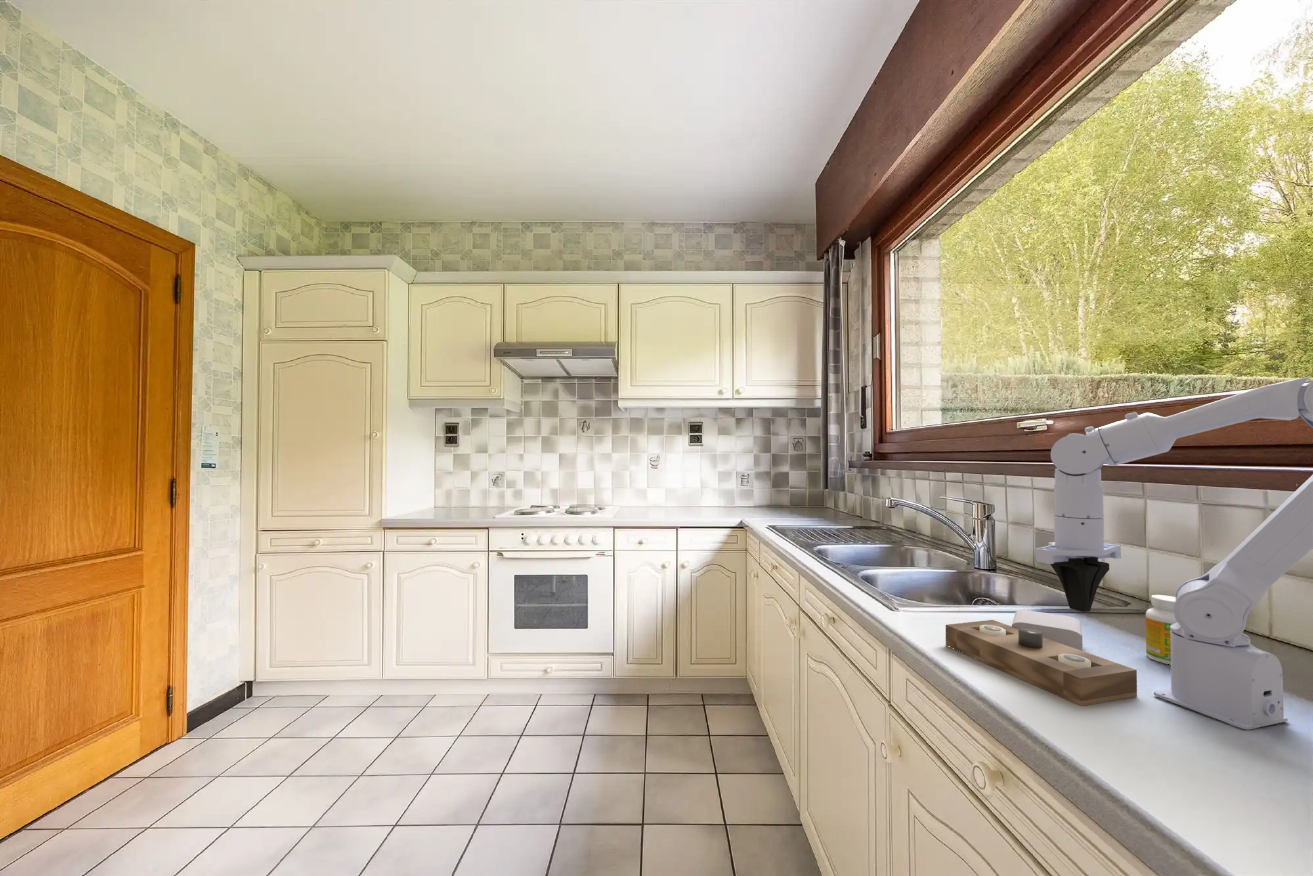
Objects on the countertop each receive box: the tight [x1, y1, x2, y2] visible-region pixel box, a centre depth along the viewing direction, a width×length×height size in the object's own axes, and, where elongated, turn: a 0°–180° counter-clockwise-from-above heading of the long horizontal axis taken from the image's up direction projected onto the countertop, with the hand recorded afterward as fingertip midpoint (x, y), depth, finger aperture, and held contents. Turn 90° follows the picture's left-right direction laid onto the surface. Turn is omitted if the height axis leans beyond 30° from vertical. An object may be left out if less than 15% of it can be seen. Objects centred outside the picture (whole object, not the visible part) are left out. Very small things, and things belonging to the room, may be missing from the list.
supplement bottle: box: [1145, 594, 1177, 666], centre depth 85 cm, size 5×5×10 cm
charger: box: [1011, 609, 1084, 651], centre depth 93 cm, size 5×9×15 cm
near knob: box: [1058, 654, 1091, 669], centre depth 75 cm, size 4×4×3 cm
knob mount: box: [945, 619, 1138, 707], centre depth 81 cm, size 22×10×4 cm, turn 16°
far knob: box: [980, 625, 1006, 637], centre depth 88 cm, size 4×4×3 cm
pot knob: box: [1018, 628, 1043, 648], centre depth 81 cm, size 3×3×2 cm
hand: (1079, 609), depth 79 cm, fingers closed
